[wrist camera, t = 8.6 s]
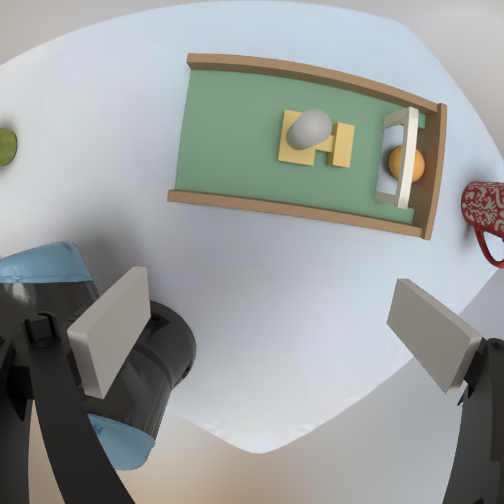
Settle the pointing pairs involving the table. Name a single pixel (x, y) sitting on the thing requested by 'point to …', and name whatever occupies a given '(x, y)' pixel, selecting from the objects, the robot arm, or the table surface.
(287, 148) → the kicker
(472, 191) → the mug
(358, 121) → the pitch
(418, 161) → the ball
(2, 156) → the plant pot
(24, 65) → the table surface
